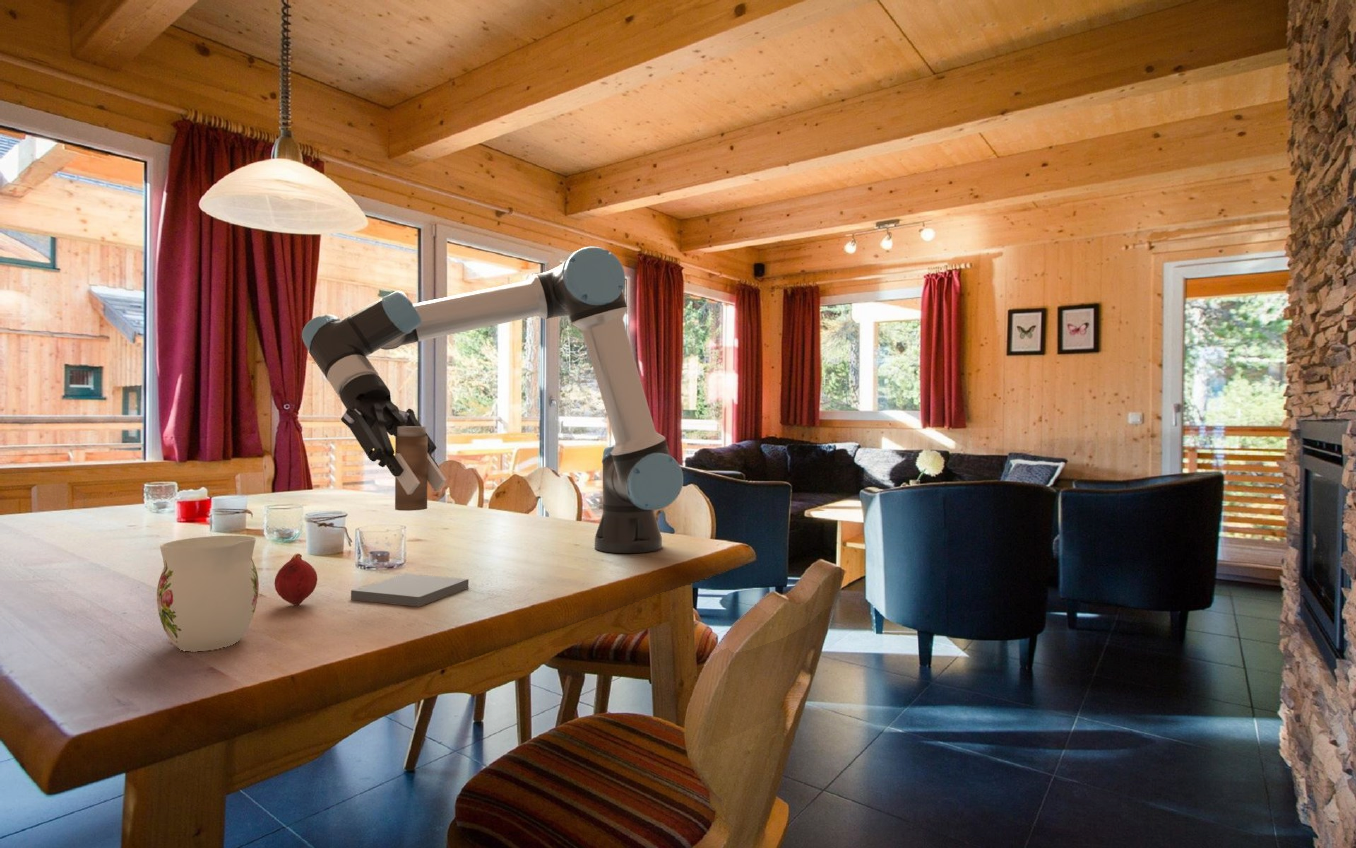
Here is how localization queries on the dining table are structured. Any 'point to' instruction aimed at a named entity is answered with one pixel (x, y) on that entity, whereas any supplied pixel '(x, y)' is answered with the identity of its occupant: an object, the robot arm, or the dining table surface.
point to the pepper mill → (412, 466)
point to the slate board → (410, 589)
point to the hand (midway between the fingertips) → (427, 487)
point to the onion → (295, 580)
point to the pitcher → (207, 591)
